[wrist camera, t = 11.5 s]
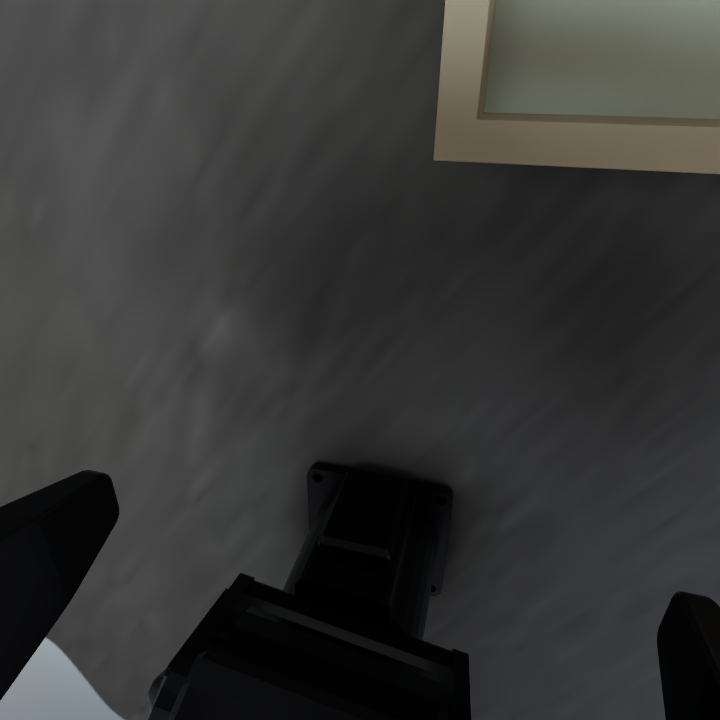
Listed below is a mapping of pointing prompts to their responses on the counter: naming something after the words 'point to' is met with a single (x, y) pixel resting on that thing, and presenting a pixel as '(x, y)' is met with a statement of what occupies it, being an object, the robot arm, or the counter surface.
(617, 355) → the counter surface
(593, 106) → the box
